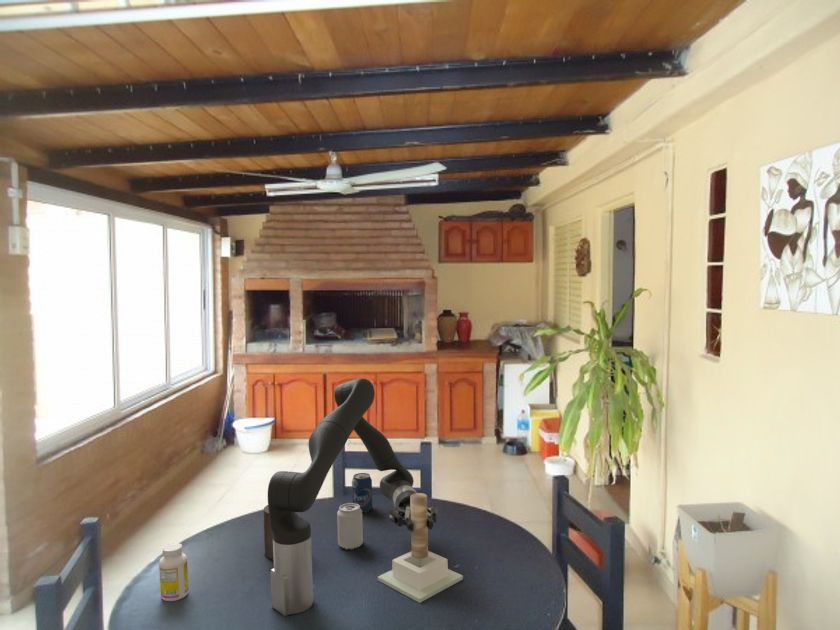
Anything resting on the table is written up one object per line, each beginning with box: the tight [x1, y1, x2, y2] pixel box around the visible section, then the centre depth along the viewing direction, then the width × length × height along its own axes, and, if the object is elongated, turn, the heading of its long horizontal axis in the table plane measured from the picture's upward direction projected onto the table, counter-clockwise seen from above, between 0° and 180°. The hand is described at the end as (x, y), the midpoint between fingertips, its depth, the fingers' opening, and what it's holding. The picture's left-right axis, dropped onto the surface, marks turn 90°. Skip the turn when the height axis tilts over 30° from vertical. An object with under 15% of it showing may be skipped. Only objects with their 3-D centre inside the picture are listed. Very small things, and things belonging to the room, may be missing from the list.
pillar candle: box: [263, 504, 298, 561], centre depth 177 cm, size 10×10×15 cm
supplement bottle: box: [158, 542, 190, 602], centre depth 154 cm, size 7×7×13 cm
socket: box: [377, 550, 464, 604], centre depth 160 cm, size 16×16×6 cm
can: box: [336, 502, 364, 550], centre depth 181 cm, size 8×8×12 cm
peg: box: [410, 492, 429, 559], centre depth 159 cm, size 4×4×16 cm
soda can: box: [351, 472, 373, 513], centre depth 209 cm, size 7×7×12 cm
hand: (421, 526), depth 157 cm, fingers closed on peg, 4 cm apart
